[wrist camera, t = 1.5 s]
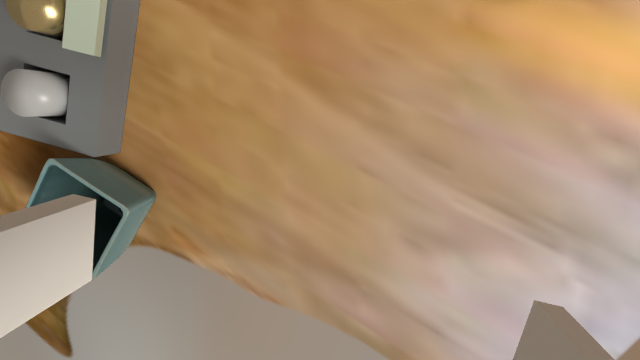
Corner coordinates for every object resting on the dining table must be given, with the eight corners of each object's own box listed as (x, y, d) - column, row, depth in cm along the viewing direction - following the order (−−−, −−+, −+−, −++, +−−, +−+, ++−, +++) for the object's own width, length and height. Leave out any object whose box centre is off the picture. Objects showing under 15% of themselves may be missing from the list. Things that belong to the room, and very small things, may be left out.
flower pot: (179, 188, 41) (129, 210, 32) (146, 248, 43) (90, 283, 34) (115, 145, 41) (47, 155, 32) (84, 207, 43) (12, 232, 34)
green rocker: (80, -17, 33) (68, -23, 31) (111, -8, 34) (101, -13, 32) (73, 49, 35) (61, 47, 33) (104, 57, 35) (94, 55, 33)
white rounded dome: (48, 69, 38) (2, 63, 33) (86, 79, 38) (45, 75, 33) (44, 110, 39) (-1, 110, 34) (81, 120, 39) (41, 121, 34)
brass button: (54, -11, 36) (7, -29, 32) (94, -1, 36) (52, -17, 31) (50, 34, 37) (4, 23, 33) (89, 44, 37) (48, 35, 32)
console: (41, -129, 36) (2, -158, 32) (153, -103, 35) (127, -129, 31) (23, 125, 41) (-12, 127, 38) (120, 152, 41) (94, 157, 37)
